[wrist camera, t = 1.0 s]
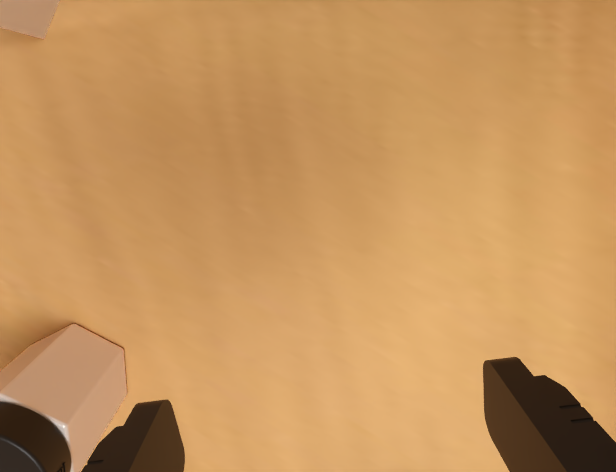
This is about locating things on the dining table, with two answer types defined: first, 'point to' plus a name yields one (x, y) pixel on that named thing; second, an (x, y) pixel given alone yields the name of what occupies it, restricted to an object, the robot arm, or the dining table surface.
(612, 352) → the dining table surface
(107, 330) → the dining table surface
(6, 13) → the tile
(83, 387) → the jar
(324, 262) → the dining table surface
